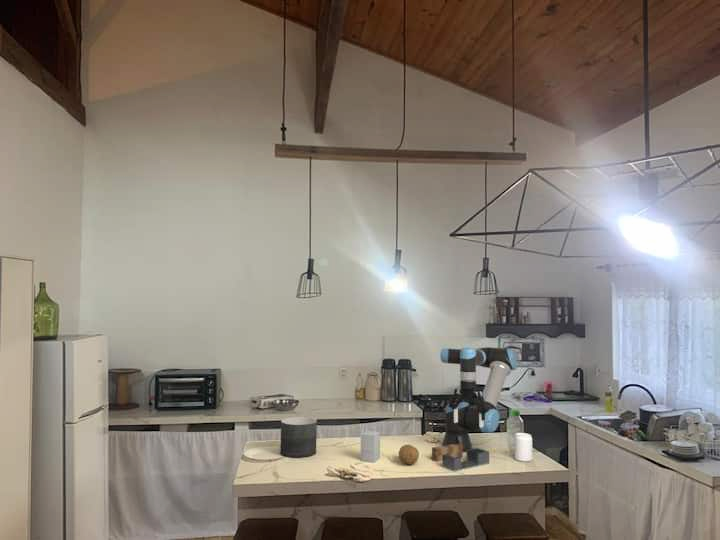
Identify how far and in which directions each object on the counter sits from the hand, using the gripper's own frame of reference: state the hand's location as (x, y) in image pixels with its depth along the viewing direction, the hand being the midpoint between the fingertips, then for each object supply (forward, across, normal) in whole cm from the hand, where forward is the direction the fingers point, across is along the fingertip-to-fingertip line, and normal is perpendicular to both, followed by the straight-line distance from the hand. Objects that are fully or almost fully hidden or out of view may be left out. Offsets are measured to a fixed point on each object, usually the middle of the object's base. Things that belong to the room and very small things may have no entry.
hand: (468, 424), depth 255 cm
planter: (+16, -70, -46) cm, 85 cm away
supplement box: (+16, -36, -31) cm, 50 cm away
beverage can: (+17, +20, +18) cm, 32 cm away
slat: (+17, -9, -4) cm, 20 cm away
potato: (+17, -19, -23) cm, 34 cm away
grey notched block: (+17, +3, -8) cm, 19 cm away
